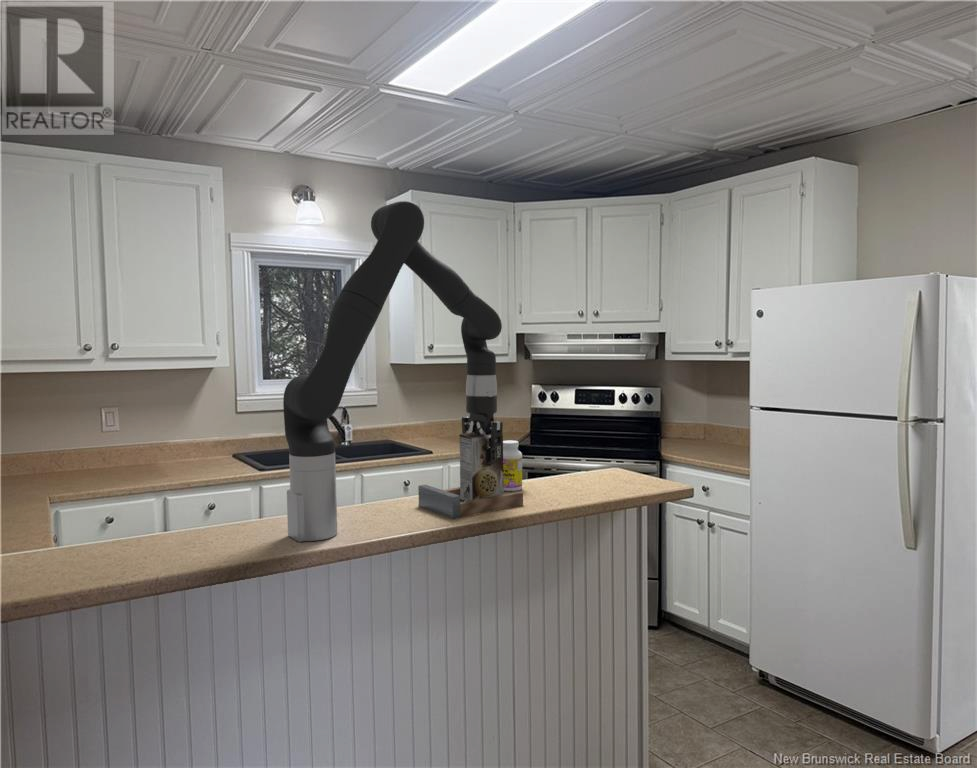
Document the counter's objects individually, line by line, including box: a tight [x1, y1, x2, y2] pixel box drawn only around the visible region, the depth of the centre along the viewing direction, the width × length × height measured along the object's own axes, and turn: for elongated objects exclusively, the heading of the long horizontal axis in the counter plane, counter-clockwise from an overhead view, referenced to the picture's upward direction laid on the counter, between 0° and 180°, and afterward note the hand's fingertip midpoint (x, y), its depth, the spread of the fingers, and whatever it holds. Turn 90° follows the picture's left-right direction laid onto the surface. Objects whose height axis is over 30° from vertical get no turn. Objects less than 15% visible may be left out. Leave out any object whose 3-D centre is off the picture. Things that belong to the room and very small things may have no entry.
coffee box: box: [459, 432, 505, 502], centre depth 167 cm, size 9×6×16 cm
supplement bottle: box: [503, 439, 523, 492], centre depth 183 cm, size 7×7×13 cm
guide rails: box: [443, 486, 524, 518], centre depth 166 cm, size 18×15×3 cm
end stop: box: [417, 484, 462, 520], centre depth 160 cm, size 2×15×5 cm, turn 37°
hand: (481, 461), depth 167 cm, fingers closed on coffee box, 6 cm apart
